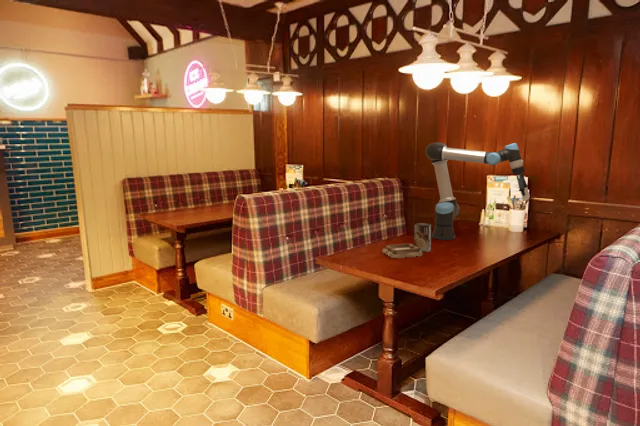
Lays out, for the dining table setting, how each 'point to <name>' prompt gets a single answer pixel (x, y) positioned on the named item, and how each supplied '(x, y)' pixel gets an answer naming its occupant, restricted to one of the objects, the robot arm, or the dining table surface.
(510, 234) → the dining table surface
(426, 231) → the coffee box
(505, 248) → the dining table surface
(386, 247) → the shallow beige rectangular tray
